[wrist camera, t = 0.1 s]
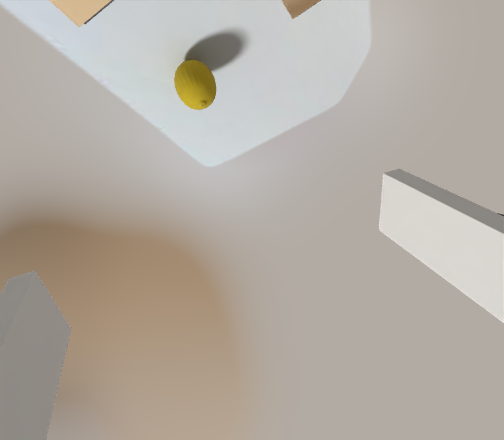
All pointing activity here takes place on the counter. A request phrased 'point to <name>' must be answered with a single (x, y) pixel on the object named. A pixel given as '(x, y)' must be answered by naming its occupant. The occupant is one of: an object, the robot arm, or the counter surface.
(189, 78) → the lemon
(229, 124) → the counter surface
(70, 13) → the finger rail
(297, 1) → the oak finger
